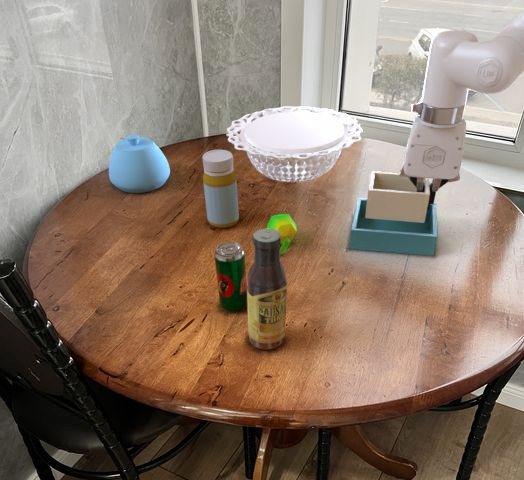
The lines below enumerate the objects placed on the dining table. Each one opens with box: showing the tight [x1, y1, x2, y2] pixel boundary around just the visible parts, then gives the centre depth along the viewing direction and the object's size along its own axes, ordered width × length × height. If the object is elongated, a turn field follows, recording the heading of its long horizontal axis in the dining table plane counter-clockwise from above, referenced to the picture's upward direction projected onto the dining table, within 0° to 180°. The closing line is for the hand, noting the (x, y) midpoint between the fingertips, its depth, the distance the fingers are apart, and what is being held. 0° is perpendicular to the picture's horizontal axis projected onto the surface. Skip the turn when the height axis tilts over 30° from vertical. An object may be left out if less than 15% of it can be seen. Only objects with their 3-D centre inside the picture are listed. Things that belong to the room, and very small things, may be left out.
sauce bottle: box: [246, 228, 288, 351], centre depth 84 cm, size 7×6×20 cm
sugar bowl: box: [108, 133, 171, 194], centre depth 133 cm, size 15×15×12 cm
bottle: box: [202, 149, 240, 229], centre depth 115 cm, size 7×7×15 cm
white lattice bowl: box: [225, 105, 364, 183], centre depth 130 cm, size 32×32×13 cm
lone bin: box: [365, 170, 431, 223], centre depth 108 cm, size 12×8×6 cm
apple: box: [266, 213, 298, 256], centre depth 111 cm, size 7×6×9 cm
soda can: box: [213, 241, 248, 313], centre depth 94 cm, size 5×5×12 cm
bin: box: [349, 197, 438, 257], centre depth 112 cm, size 17×14×4 cm
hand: (423, 206), depth 108 cm, fingers closed on lone bin, 1 cm apart
